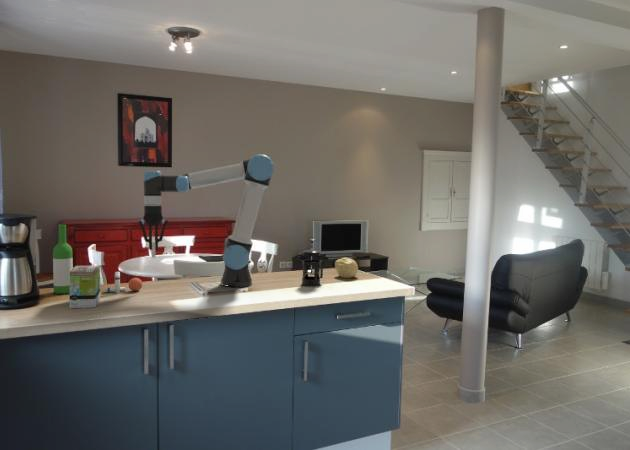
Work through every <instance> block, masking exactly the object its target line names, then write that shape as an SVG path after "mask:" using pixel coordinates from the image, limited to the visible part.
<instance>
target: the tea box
mask: <svg viewBox="0 0 630 450" xmlns="http://www.w3.org/2000/svg"><path fill="white" fill-rule="evenodd" d="M100 300H101V265H75V266H74V267H73V269H72V270H71V271H70V293H69V305H68V306H69V309H82V308H84V309H85V308H87V309H89V308H96V307H97V305H98V304H99V301H100Z"/></svg>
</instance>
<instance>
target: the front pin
mask: <svg viewBox="0 0 630 450" xmlns="http://www.w3.org/2000/svg"><path fill="white" fill-rule="evenodd" d="M122 292H126V286H120V293H122ZM104 293H115V286H114V287H104Z"/></svg>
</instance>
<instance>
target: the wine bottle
mask: <svg viewBox="0 0 630 450" xmlns="http://www.w3.org/2000/svg"><path fill="white" fill-rule="evenodd" d="M52 264H53V266H52V272H53V275H52V276H53V277H52V278H53V292H54V293H55V294H57V295H63V294H70V271H71V270H72V269H73V268H74V267H73V265H74V264H73V247H72V246H71V245H70V244H69V243H67V224H58V243H57V244H56V245H55V246H54V248H53V250H52Z"/></svg>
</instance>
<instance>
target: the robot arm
mask: <svg viewBox="0 0 630 450" xmlns="http://www.w3.org/2000/svg"><path fill="white" fill-rule="evenodd" d="M274 171H275V164H274V162H273V159H271V158H270V157H269V156H268V155H266V154H263V153H259V154H255V155H253V156H252V157H250V158H249V159H245V160H242V161H240V162H239V163H236V164H231V165H226V166H220V167H215V168H210V169H205V170H201V171H195V172H190V173H185V174H179V175H178V174H177V175H164V174H163V175H162V172H161V170H146V171H144V173H143V193H144V195H143V202H144V203H143V204H144V207H143V208H144V210H143V211H144V212H143V213H144V214H143V217H142V218H141V219H139V220H138V225H140V227H141V232H142V234H143V235H142V236H143V239H144V241H145V242H146V243H148V250H150V251H151V257H152V258H156V250H159V243H160V242H163V238H164V234H165V229H166V226H167V225H168V222H169V221H168V220H167V219H165V218H164V217H163V214H162V213H163V208H162V193H187V192H188V191H189V190H195V189H198V188H203V187H204V188H205V187H209V186H214V185H218V184H223V183H224V184H225V183H229V182H236V181H239V180H243V181H244V183H245V184H246V185H245V188H244V191H243V195H242V198H241V202H240V205H239V209H238V214H237V217H236V219H235V220H236V221H235V225H234V228H233V231H232V234H230V235H229V236H227V238H225V240H224V251H223V253H222V259H223V260H222V261H223V262H224V270H223V274H222V276H221V279H220V285H221V284H223V285H228V286H240V287H239V288H245V287H246V288H247V287H250V286H252V285H253V279H252V276H251V272H250V268H249V266H250V265H249V263H250V262H249V261H250V255H251V251H252V247H253V243H254V242H253V241H252V239H251V238H252V235H253V233H254V227H255V225H256V221H257V217H258V213H259V211H260V207H261V202H262V199H263V196H264V192H265V190H266V189H267V188H269V186H270V183H271V179H272V175H273V174H274ZM145 223H146V225H147V226H148V236H147V232H146V228H145ZM161 223H162V226H161V229H160V234H158V233H159V227H158V226H159V225H160V224H161ZM153 226H154V242H153V229H152V228H153Z"/></svg>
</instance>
